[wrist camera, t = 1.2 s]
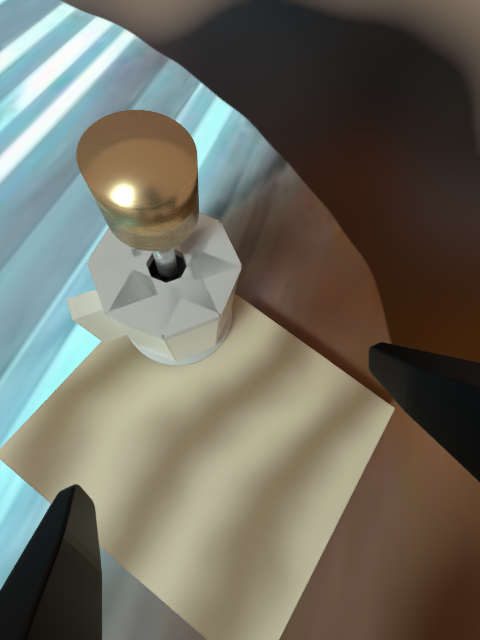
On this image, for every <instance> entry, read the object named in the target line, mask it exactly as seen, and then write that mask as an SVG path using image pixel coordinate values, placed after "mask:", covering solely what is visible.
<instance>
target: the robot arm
mask: <svg viewBox="0 0 480 640" xmlns="http://www.w3.org/2000/svg"><path fill="white" fill-rule="evenodd" d="M369 370H370V372H371V373H372V375H373V376H374V377H375V378H376V379H377V380H378V382H379V383H380V384H381V385H382V386H383V387H384V388H385V390H386V391H387V392H388V393H389V394H390V395H391V396H392V398H393V399H394V400H395V401H396V402H397V403H398V404H399V406H400V407H401V408H402V409H403V410H404V411H405V412H406V413H407V414H408V415H409V416H410V417H411V418H412V419H413V420H414V421H416V422H417V423H418V424H419V425H420V426H421V427H422V428H423V429H424V430H425V431H426V432H427V433H428V434H429V435H430V436H431V437H432V438H434V439H435V440H436V441H437V442H438V443H439V444H440V445H441V446H442V447H443V448H444V449H445V450H446V451H447V452H448V453H449V454H451V455H452V456H453V457H454V458H455V459H456V460H457V461H458V462H459V463H460V464H461V465H462V466H463V467H464V468H465V469H466V470H467V471H469V472H470V473H471V474H472V475H473V476H474V477H475V478H476V479H477V480H478V481H479V482H480V363H478V362H473V361H468V360H464V359H459V358H454V357H450V356H445V355H440V354H435V353H431V352H426V351H421V350H416V349H411V348H407V347H402V346H397V345H393V344H388V343H383V342H381V343H378V344H376V345H373V346H371V347H370V348H369ZM0 640H102V570H101V558H100V549H99V539H98V530H97V520H96V511H95V505H94V503H93V501H92V499H91V498H90V497H89V496H88V494H87V493H86V492H85V491H84V490H83V489H82V487H81V486H80V485H78V484H73V485H71V486H69V487H67V488H65V489H63V490H61V491H60V492H59V493H58V494H57V495H56V497H55V499H54V500H53V502H52V504H51V505H50V507H49V509H48V510H47V512H46V514H45V516H44V517H43V519H42V521H41V522H40V524H39V526H38V527H37V529H36V531H35V532H34V534H33V536H32V538H31V539H30V541H29V543H28V544H27V546H26V548H25V549H24V551H23V553H22V554H21V556H20V558H19V560H18V561H17V563H16V565H15V566H14V568H13V570H12V571H11V573H10V575H9V576H8V578H7V580H6V582H5V583H4V585H3V587H2V588H1V590H0Z"/></svg>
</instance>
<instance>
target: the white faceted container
mask: <svg viewBox="0 0 480 640" xmlns="http://www.w3.org/2000/svg"><path fill="white" fill-rule="evenodd" d="M174 251H175V255H177V256H179V257H182V258H183V259H184V262H185V264H186V266H187V267H186V269H185V271H184V273H183V275H182V277H181V278H178V279H176V280H173V281H170V282H167V283H165V282H163V281H160V280H158V279H155V278H153V277H151V275H150V273H149V270H148V269H149V267H150V265H151V263H152V261H153V260H154V256H153V253H152V251H143V250H138V249H135V248H132V247H130V246H128V245H126V244H124V243H123V242H121V241H120V240H119V239H118V238H116V236H115V235H114V234H113V233H112V231H111V230H110V228H108V230H107V232H106V233H105V235H104V236H103V238H102V239H101V241H100V242H99V244H98V245H97V247H96V249H95V250H94V252H93V253H92V255H91V256H90V258H89V259H88V262H89V263H87V264H88V267H89V270H90V273H91V276H92V278H93V281H94V284H95V287H96V290H93V291H90V292H87V293H84V294H81V295H78V296H75V297H72V298H69V299H66V300H67V303H68V306H69V309H70V313H71V316H72V319H73V321H75V322H76V323H78V324H79V325H80V326H82V327H83V328H85V329H86V330H87V331H89V332H90V333H91V334H93V335H94V336H96V337H97V338H98V339H100V340H101V341H103V342H104V343H106V342H109V341H112V340H114V339H117V338H120V337H123V336H125V335H127V336H128V337H129V338H130V340H131V341H132V343H133V344H134V345H135V346H136V348H137V349H138V350H139V351H140V352H141V353H143V354H144V355H145V356H147V357H148V358H150V359H151V360H153V361H155V362H158V363H161V364H165V365H170V366H185V365H190V364H194V363H197V362H199V361H201V360H203V359H205V358H207V357H208V356H210V355H211V354H213V353H214V352H215V351H216V350H217V349H218V348H219V347H220V346H221V344H222V343H223V341H224V340H225V338H226V336H227V334H228V331H229V328H230V324H231V319H232V303H233V299H234V295H235V290H236V286H237V282H238V278H239V275H240V273H241V269H242V265H241V263H240V261H239V258H238V256H237V254H236V252H235V250H234V248H233V246H232V244H231V242H230V240H229V238H228V236H227V234H226V232H225V230H224V227H223V225H222V223H221V222H219V220H217V219H214V218H212V217H209V216H207V215H204V214H201V213H199V219H198V223H197V225H196V228H195V229H194V231H193V232H192V234H191V235H190V236H189V237H188V238H187V239H186V240H185V241H183V242H182V243H180V244H179V245H177V246H175V247H174Z"/></svg>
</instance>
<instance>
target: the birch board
mask: <svg viewBox="0 0 480 640" xmlns="http://www.w3.org/2000/svg"><path fill="white" fill-rule="evenodd" d="M394 409H395V408H394V407H392V406H391V405H390V404H388V403H387V402H385V401H384V400H383V399H381V398H380V397H378V396H377V395H376V394H374V393H373V392H371V391H370V390H369V389H367V388H366V387H365V386H363V385H362V384H360V383H359V382H358V381H356V380H355V379H353V378H352V377H351V376H349V375H348V374H346V373H345V372H344V371H342V370H341V369H339V368H338V367H337V366H335V365H334V364H333V363H331V362H330V361H328V360H327V359H326V358H324V357H323V356H321V355H320V354H319V353H317V352H316V351H314V350H313V349H312V348H310V347H309V346H308V345H306V344H305V343H303V342H302V341H301V340H299V339H298V338H296V337H295V336H294V335H292V334H291V333H289V332H288V331H287V330H285V329H284V328H283V327H281V326H280V325H278V324H277V323H276V322H274V321H273V320H271V319H270V318H269V317H267V316H266V315H264V314H263V313H262V312H260V311H259V310H258V309H256V308H255V307H253V306H252V305H251V304H249V303H248V302H246V301H245V300H244V299H242V298H241V297H239V296H238V295H237V294H235V295H234V299H233V303H232V319H231V324H230V328H229V331H228V334H227V336H226V338H225V340H224V341H223V343H222V344H221V346H220V347H219V348H218V349H217V350H216V351H215V352H214V353H213V354H211V355H210V356H208V357H207V358H205V359H203V360H201V361H199V362H197V363H194V364H190V365H185V366H170V365H165V364H161V363H158V362H155V361H153V360H151V359H150V358H148V357H147V356H145V355H144V354H143V353H141V352H140V351H139V350H138V349H137V348H136V346H135V345H134V344H133V343H132V341H131V340H130V338H129V337H128V336H127V335H125V336H123V337H120V338H117V339H114V340H112V341H109V342H106V343H104V342H103V341H102V342H101V343H100V344H99V345H98V346H97V347H96V348H95V349H94V350H93V351H92V352H91V353H90V354H89V355H88V356H87V357H86V358H85V360H84V361H83V362H82V363H81V364H80V365H79V366H78V367H77V368H76V369H75V370H74V371H73V372H72V373H71V374H70V375H69V377H68V378H67V379H66V380H65V381H64V382H63V383H62V384H61V385H60V386H59V387H58V388H57V389H56V390H55V391H54V392H53V393H52V395H51V396H50V397H49V398H48V399H47V400H46V401H45V402H44V403H43V404H42V405H41V406H40V407H39V408H38V409H37V410H36V411H35V413H34V414H33V415H32V416H31V417H30V418H29V419H28V420H27V421H26V422H25V423H24V424H23V425H22V426H21V427H20V428H19V429H18V431H17V432H16V433H15V434H14V435H13V436H12V437H11V438H10V439H9V440H8V441H7V442H6V443H5V444H4V445H3V446H2V447H1V449H0V460H2V461H3V462H4V463H5V464H6V465H7V466H8V467H10V468H11V469H12V470H13V471H14V472H15V473H16V474H18V475H19V476H20V477H21V478H22V479H23V480H24V481H26V482H27V483H28V484H29V485H30V486H31V487H33V488H34V489H35V490H36V491H37V492H38V493H39V494H41V495H42V496H43V497H44V498H45V499H46V500H47V501H49V502H50V503H51V504H52V502H53V500H54V499H55V497H56V495H57V494H58V493H59V492H60V491H61V490H63V489H65V488H67V487H69V486H71V485H73V484H78V485H80V486H81V487H82V489H83V490H84V491H85V492H86V493H87V494H88V496H89V497H90V498H91V499H92V501H93V503H94V505H95V511H96V520H97V530H98V539H99V546H100V547H101V548H103V549H104V550H105V551H106V552H107V553H108V554H109V555H111V556H112V557H113V558H114V559H115V560H116V561H117V562H119V563H120V564H121V565H122V566H123V567H124V568H126V569H127V570H128V571H129V572H130V573H131V574H132V575H134V576H135V577H136V578H137V579H138V580H139V581H140V582H142V583H143V584H144V585H145V586H146V587H147V588H148V589H150V590H151V591H152V592H153V593H154V594H155V595H157V596H158V597H159V598H160V599H161V600H162V601H163V602H165V603H166V604H167V605H168V606H169V607H170V608H171V609H173V610H174V611H175V612H176V613H177V614H178V615H179V616H181V617H182V618H183V619H184V620H185V621H186V622H188V623H189V624H190V625H191V626H192V627H193V628H194V629H196V630H197V631H198V632H199V633H200V634H201V635H202V636H204V637H205V638H206V639H207V640H279V639H280V637H281V635H282V633H283V631H284V629H285V627H286V625H287V623H288V621H289V619H290V617H291V615H292V613H293V611H294V609H295V607H296V605H297V603H298V601H299V599H300V597H301V595H302V593H303V591H304V589H305V587H306V585H307V583H308V581H309V579H310V577H311V575H312V573H313V571H314V569H315V567H316V565H317V563H318V561H319V559H320V557H321V555H322V553H323V551H324V549H325V547H326V545H327V543H328V541H329V539H330V537H331V535H332V533H333V531H334V529H335V527H336V525H337V523H338V521H339V519H340V517H341V515H342V513H343V511H344V509H345V507H346V505H347V503H348V501H349V499H350V497H351V495H352V493H353V491H354V489H355V487H356V485H357V483H358V481H359V479H360V477H361V475H362V473H363V471H364V469H365V467H366V465H367V463H368V461H369V459H370V457H371V455H372V453H373V451H374V449H375V447H376V445H377V443H378V441H379V439H380V437H381V435H382V433H383V431H384V429H385V427H386V425H387V423H388V421H389V419H390V417H391V415H392V413H393V411H394Z"/></svg>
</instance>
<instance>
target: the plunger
mask: <svg viewBox="0 0 480 640" xmlns="http://www.w3.org/2000/svg"><path fill="white" fill-rule="evenodd" d="M76 156H77V163H78V167H79V169H80V171H81V174H82V176H83V178H84V179H85V181H86V183H87V185H88V187H89V189H90V191H91V193H92V195H93V197H94V199H95V201H96V203H97V205H98V207H99V209H100V211H101V213H102V215H103V217H104V219H105V220H106V222H107V224H108V226H109V228H110V230H111V231H112V233H113V234H114V235H115V236H116V238H118V239H119V240H120V241H121V242H123V243H124V244H126V245H128V246H130V247H132V248H135V249H138V250H143V251H152V253H153V256H154V260H153V261H152V263H151V265H150V267H149V269H148V270H149V273H150V275H151V277H153V278H155V279H158V280H160V281H163V282H165V283H167V282H170V281H173V280H176V279H178V278H181V277H182V275H183V273H184V271H185V269H186V267H187V266H186V264H185V262H184V259H183V258H182V257H179V256H177V255H175V251H174V247H175V246H177V245H179V244H180V243H182V242H183V241H185V240H186V239H187V238H188V237H189V236H190V235H191V234H192V232H193V231H194V229H195V228H196V225H197V223H198V219H199V196H198V165H197V150H196V145H195V143H194V141H193V139H192V137H191V135H190V134H189V133H188V131H187V130H186V129H185V128H184V127H183V126H182V125H180V124H179V123H178V122H176V121H175V120H173V119H171V118H169V117H167V116H165V115H162V114H159V113H156V112H151V111H145V110H127V111H120V112H116V113H113V114H110V115H107V116H105V117H103V118H101V119H99V120H98V121H96V122H95V123H93V124H92V125H91V126H90V127H89V128H88V129H87V130H86V131H85V132H84V134H83V135H82V137H81V139H80V141H79V143H78V147H77V154H76Z"/></svg>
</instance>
